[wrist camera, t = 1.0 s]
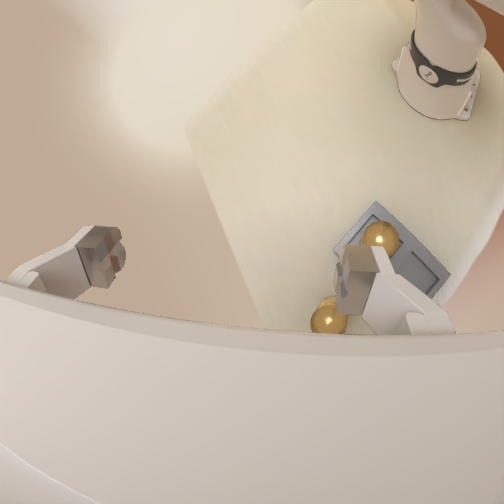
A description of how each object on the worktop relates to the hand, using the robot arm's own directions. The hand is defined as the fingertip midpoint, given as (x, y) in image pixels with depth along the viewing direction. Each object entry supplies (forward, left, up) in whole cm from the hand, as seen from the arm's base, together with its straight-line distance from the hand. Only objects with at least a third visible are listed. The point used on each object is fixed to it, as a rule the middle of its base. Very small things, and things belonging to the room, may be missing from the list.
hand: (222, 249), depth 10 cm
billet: (+5, +7, -41) cm, 42 cm away
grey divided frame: (-8, +9, -41) cm, 43 cm away
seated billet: (-8, +5, -41) cm, 42 cm away
